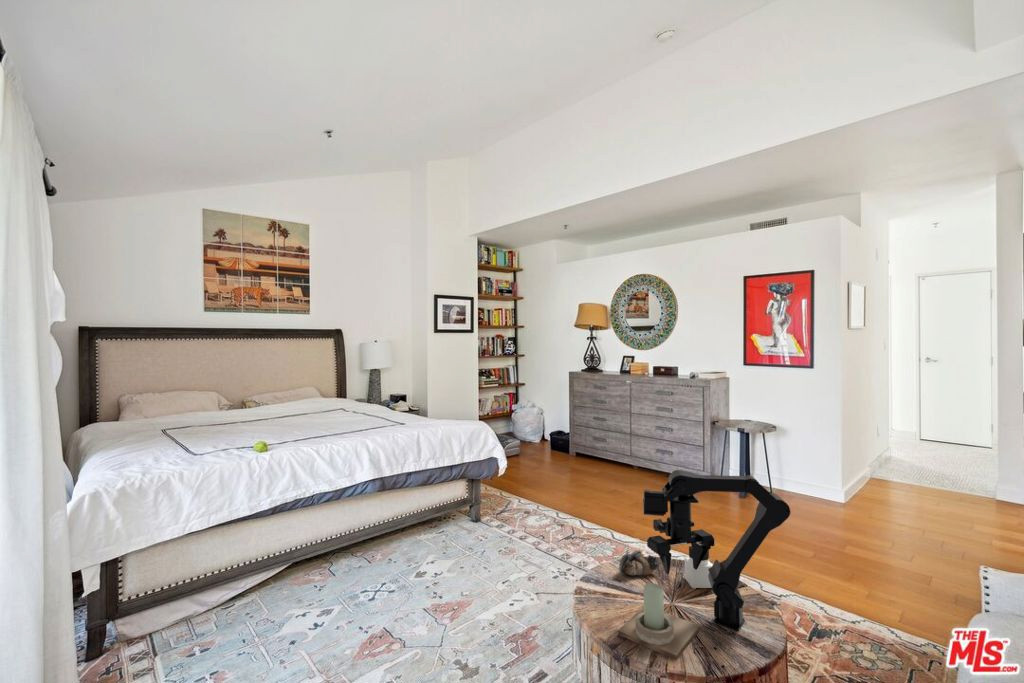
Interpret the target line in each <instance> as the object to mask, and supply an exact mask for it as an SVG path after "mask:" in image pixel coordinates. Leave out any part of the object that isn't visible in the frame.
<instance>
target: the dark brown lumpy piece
mask: <svg viewBox="0 0 1024 683" xmlns="http://www.w3.org/2000/svg"><path fill="white" fill-rule="evenodd" d="M660 564H662V561H660V560H658V559H657V557H656V556H654V555H650V554H648V557H647V556H644V554H643V553H642V552H641V550H635V551H633V552H631V553H625V554H624V555H622V556H621V557H620V561H619V568H618V570H619V572H620V573H621V574H626V575H628V576H648V575H651V574H653V573H654V571H655V570H658V569H659V568H660V566H661V565H660Z"/></svg>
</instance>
